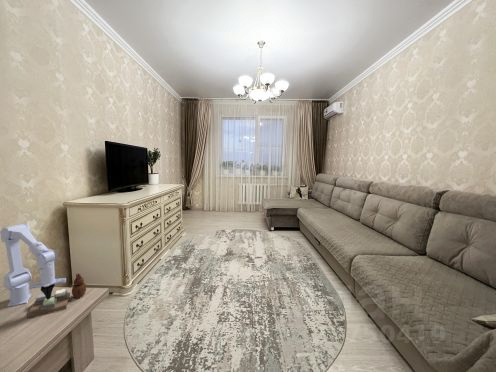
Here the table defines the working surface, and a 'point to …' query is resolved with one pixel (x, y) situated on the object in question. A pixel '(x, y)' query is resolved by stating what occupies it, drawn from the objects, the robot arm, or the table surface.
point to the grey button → (41, 297)
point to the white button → (60, 292)
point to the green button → (49, 301)
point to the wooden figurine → (78, 287)
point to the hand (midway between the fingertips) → (48, 298)
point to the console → (58, 305)
